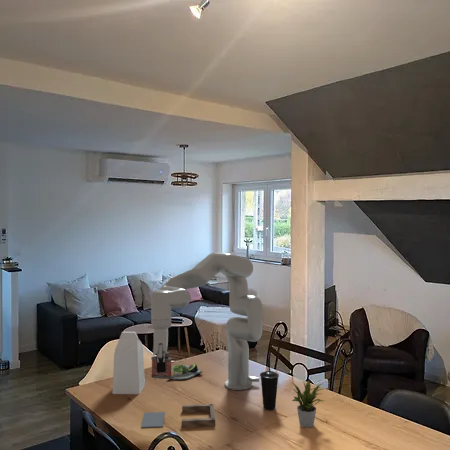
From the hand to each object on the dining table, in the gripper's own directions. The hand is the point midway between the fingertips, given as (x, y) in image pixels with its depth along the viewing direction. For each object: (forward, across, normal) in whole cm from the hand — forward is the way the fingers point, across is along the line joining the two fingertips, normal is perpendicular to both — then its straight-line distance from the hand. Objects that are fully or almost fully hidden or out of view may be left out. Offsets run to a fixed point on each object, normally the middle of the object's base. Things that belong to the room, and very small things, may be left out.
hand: (161, 369), depth 172 cm
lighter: (+3, 0, 0) cm, 3 cm away
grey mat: (+20, 0, -3) cm, 20 cm away
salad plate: (+20, -50, +8) cm, 55 cm away
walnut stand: (+20, 0, +14) cm, 24 cm away
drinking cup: (+20, -7, +43) cm, 48 cm away
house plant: (+20, +10, +55) cm, 59 cm away
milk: (+20, -33, -16) cm, 42 cm away
